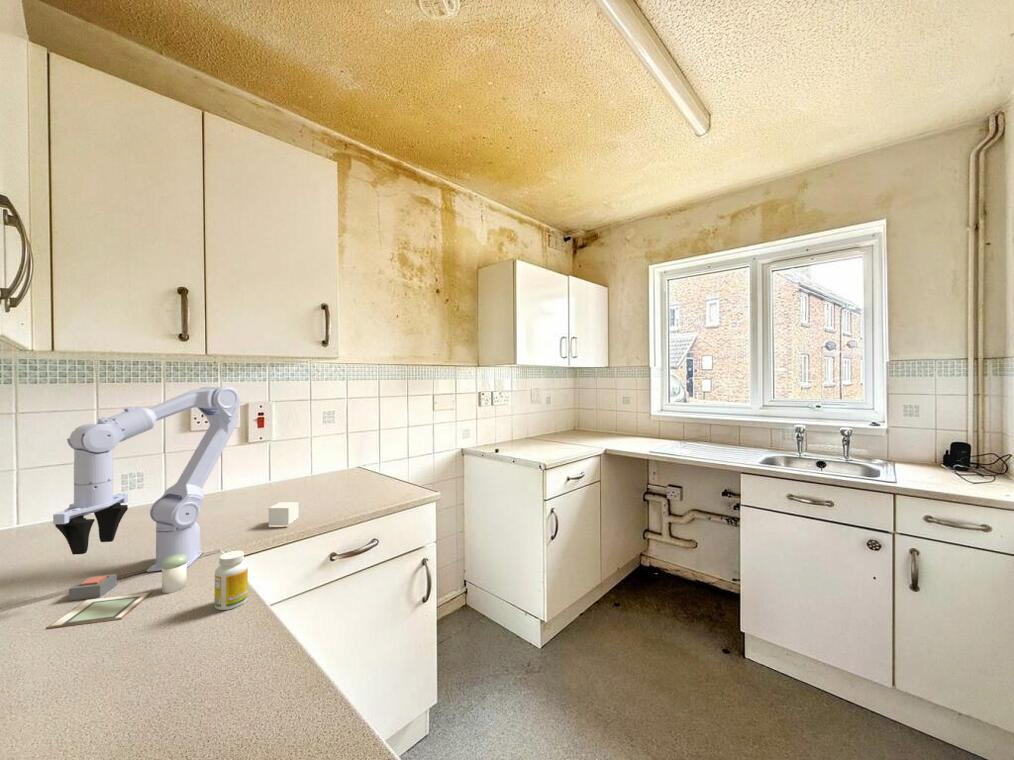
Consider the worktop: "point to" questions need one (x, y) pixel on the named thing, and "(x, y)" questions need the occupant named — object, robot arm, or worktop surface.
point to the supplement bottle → (231, 581)
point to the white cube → (283, 513)
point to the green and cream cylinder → (173, 573)
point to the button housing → (92, 588)
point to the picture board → (100, 610)
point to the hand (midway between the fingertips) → (93, 547)
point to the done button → (93, 580)
